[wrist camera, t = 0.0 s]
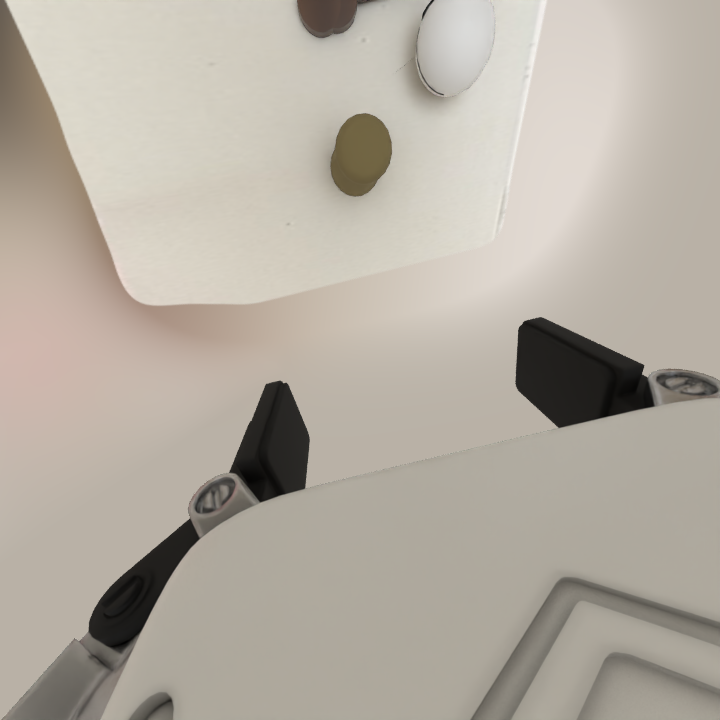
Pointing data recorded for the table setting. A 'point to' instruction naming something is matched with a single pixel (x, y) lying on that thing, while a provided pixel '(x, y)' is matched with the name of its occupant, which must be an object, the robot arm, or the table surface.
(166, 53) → the table surface
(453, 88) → the white ovoid
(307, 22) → the wooden spoon
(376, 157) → the cork
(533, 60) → the table surface
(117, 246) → the table surface
